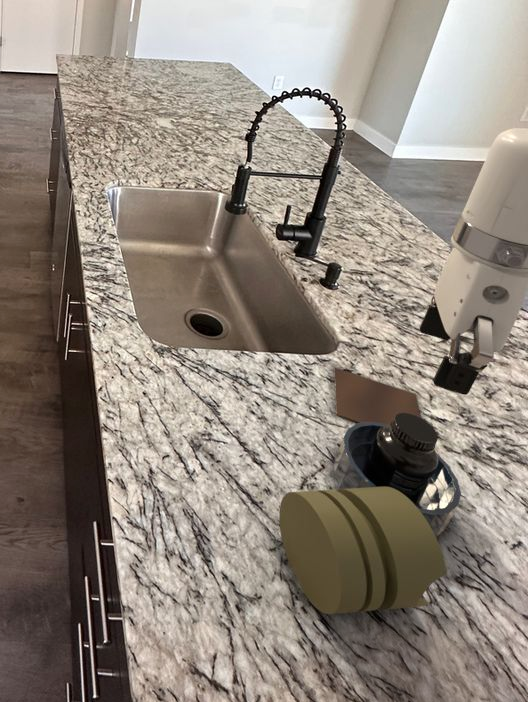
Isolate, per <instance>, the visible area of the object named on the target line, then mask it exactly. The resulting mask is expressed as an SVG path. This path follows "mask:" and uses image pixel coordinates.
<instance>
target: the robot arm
mask: <svg viewBox="0 0 528 702" xmlns="http://www.w3.org/2000/svg"><path fill="white" fill-rule="evenodd" d="M450 243H451V244H452V246H453V249H452V250H451V252H450V254H449V256H448V257H447V260H446V261H445V264H444V265H443V267H442V270H441V271H440V274H439V277H438V279H437V281H436V284H435V288H434V295H433V296H432V297H431V299H430V305H429V306H428V308H427V309H426V311H425V314H424V317H423V318H422V321H421V323H420V326H419V331H420V333H421V334H424V335H427V336H430V337H434V338H437V339H440V340H445V341H449V340H451V341H450V348H449V354H448V356H447V355H444V356H443V358H442V360H441V362H440V364H439V367H438V368H437V369H436V370H437V371H436V372H435V375H434V377H433V379H432V381H433V385H434V386H436V387H439V388H441V389H444V390H448V391H451V392H454V393H457V394H460V395H462V396H463V395H464V396H466V395H468V394H469V393H470V391H471V389H472V387H473V386H474V383H475V382H476V379H477V377H478V376H479V374H480V373H482V372H483V371H484V370H485V369H486V368H488V364H489V363H491V362H492V361H493V360H494V357H495V353H498V352H501V351H502V350H503V348H504V347H505V345H506V343H507V341H508V338H509V336H510V334H511V332H512V330H513V328H514V326H515V323H516V322H517V319H518V317H519V314H520V312H521V309H522V306H523V304H524V301H525V298H526V295H527V292H528V127H527V128H526V127H519V128H518V127H514V128H510V129H505V130H504V131H502V132H500V133H499V134H498V135H497V136H496V137H495V139H494V140H493V143H492V144H491V146H490V148H489V151H488V153H487V155H486V157H485V160H484V163H483V164H482V167H481V169H480V172H479V174H478V176H477V178H476V180H475V183H474V185H473V188H472V190H471V192H470V195H469V197H468V199H467V202H466V203H465V205H464V208H463V211H462V213H461V214H460V216H459V219H458V221H457V224H456V226H455V228H454V231H453V233H452V236H451V238H450ZM464 333H465V334H466V333H467V334H471V335H473V338H471V337H467V336H465V335H463V334H464ZM462 344H464V345H469V346H472V349H471V350H470V352H461V346H462Z"/></svg>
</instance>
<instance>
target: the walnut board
mask: <svg viewBox="0 0 528 702" xmlns="http://www.w3.org/2000/svg"><path fill="white" fill-rule="evenodd" d="M333 379H334V395H335V396H334V399H335V416H337V417H340V418H342V419H345V420H348V421H351V422H354V423H355V424H357V423H363V422H376V423H382V424H387V425H390V424H391V422H392V421H393V419H394V417H395V415H397V414H399V413H410V414H413V415H416V416H418V417H420V418H421V414H420V408H419V405H418V399H417V395H416V393H414V392H410V391H408V390H404V389H401V388H398V387H394V386H392V385H389V384H386V383H383V382H381V381H376V380H374V379H370V378H367V377H365V376H361V375H359V374H355V373H352V372H349V371H347V370H344V369H341V368H338V367H333Z"/></svg>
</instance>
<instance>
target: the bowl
mask: <svg viewBox="0 0 528 702" xmlns="http://www.w3.org/2000/svg"><path fill="white" fill-rule="evenodd" d="M386 425H387V424H382V423H376V422H363V423H355V424H353V425H352V426H350V427H348V428H347V430H346V432H345V434H344V436H343V437H342V440H341V443H340V445H339V448H338V450H337V453H336V455H335V458H334V460H333V471H334V476H335V479H336V481H337V483H338V486H339V489H351V488H368V487H377V486H375V485H374V484H373V483H372V482H371V481H370V480H369V479H367V478H366V477H365V476H364V474H363V473H362V469H363V467H364V464H365V462H366V459H367V457H368V454H369V452H370V449H371V447H372V444H373V442H374V440H375V437H376V435H377V433H378V431H379V429H380V428H382V427H383V426H386ZM437 456H438V465H437V468H436V470H435V472H434V474H433V476H432V478H431V480H430V482H429V484H428V486H427V488H426V490H425V493H424V495H423V497H422V499H421V501H420V503H419V504H418V506H417V508H418V509H419V510H420V512H421V513H422V514H423V516H424V517H425V519H426V520H427V522H428V523H429V525H430V527H431V529H432V530H433V532H434V534H435V536H436V538H437V537H439V535H440V534H442V533H443V532H444V531H445V530H446V528H447V526H448V525H449V523H450V521H451V519H452V518H453V516H454V514H455V512H456V511H457V509H458V507H459V505H460V500H461V497H462V491H461V488H460V483H459V480H458V478H457V476H456V474H455V473H454V472H453V470H452V469H451V467H450V465H449V464H448V463H447V462H446V461H445V460H444V459H443V458H442V457H441V455H440V454H439V453H437Z"/></svg>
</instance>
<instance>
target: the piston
mask: <svg viewBox="0 0 528 702" xmlns="http://www.w3.org/2000/svg"><path fill="white" fill-rule="evenodd" d="M278 513H279V514H278V515H279V516H278V517H279V518H278V519H279V520H278V521H279V531H280V537H281V542H282V546H283V549H284V553H285V557H286V559H287V562H288V564H289V565H290V567H291V570H292V572H293V574H294V576H295V578H296V580H297V582H298V584H299V586H300V588H301V590H302V592H303V594H304V596H305V598H307V599H308V601H309V603H311V605H312V606H313V607H314V608H315V609H317V610H318V611H319V612H321V613H322V614H325V615H336V614H338V615H339V614H347V613H349V614H351V613H357V612H358V613H359V612H360V613H362V612H373V611H377V610H383V611H384V610H396V609H397V610H399V609H410V608H411V609H412V608H420V607H429V604H428V602H427V601H426V599H425V598H423V595H425V592H426V591H427V590H428V588H430V586H431V585H433V583H434V582H435V581H437V580H438V579H440V578H442V577H446V576H448V573H447V566H446V561H445V558H444V554H443V551H442V548H441V545H440V543H439V541H438V539H437V537H436V536H435V534H434V532H433V530H432V529H431V527H430V525H429V523H428V522H427V520H426V519H425V517H424V516H423V514H422V513H421V512H420V510H419V509H418V508H417V507H416V506H415V504H414V503H413V502H412V501H411V500H410V499H409V498H407V497H406V496H405V495H404V494H402V493H401V492H399V491H398V490H396V489H394V488H391V487H385V486H384V487H368V488H351V489H341V488H339V489H336V490H335V489H320V490H305V491H290V492H287V493H285V494H284V496H282V499H281V502H280V505H279V512H278Z"/></svg>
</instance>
